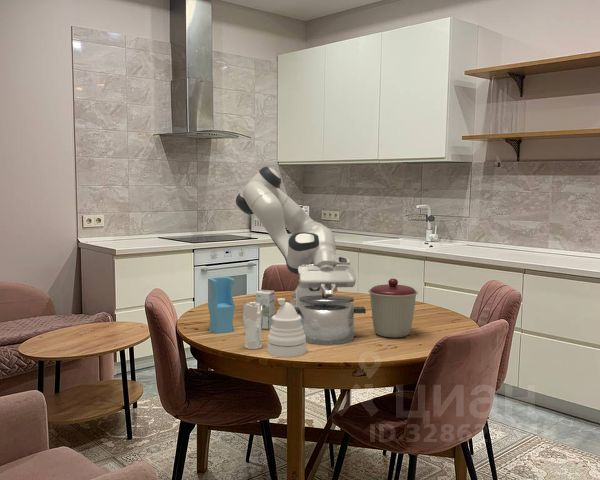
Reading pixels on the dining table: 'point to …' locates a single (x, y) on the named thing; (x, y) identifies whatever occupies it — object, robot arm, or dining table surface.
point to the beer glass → (253, 324)
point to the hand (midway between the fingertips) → (328, 295)
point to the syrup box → (266, 306)
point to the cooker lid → (326, 299)
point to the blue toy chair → (221, 305)
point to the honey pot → (286, 332)
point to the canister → (392, 309)
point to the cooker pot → (328, 322)
